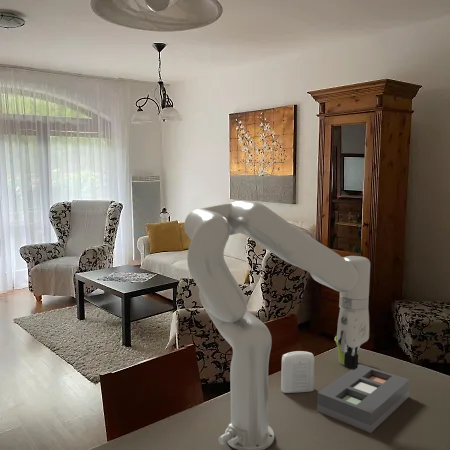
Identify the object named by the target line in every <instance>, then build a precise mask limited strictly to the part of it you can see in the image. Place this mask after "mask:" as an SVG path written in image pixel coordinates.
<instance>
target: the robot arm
mask: <svg viewBox="0 0 450 450" xmlns="http://www.w3.org/2000/svg"><path fill="white" fill-rule="evenodd" d="M183 227H184V232H185V234H186V236H187V237H188V238H189V239H190V243H189V245H188V250H187V268H188V271H189V273H190V275H191V278H192V279H193V281H194V283H195V284H196V285H197V289H199V291H198V298H199V301H200V304H201V305H202V307H203V309H204V310H205V312H206V314H207V315H208V317H209V318H210V320H211V321H212V323H213V324H214V326H215V328H216V329H217V331H218V332H219V334H220V335H221V336H222V338H223V339H224V340H225V341H226V342H227V343H228V344H229V345H230V347H231V348H232V357H231V361H230V366H229V367H230V369H229V370H230V372H229V380H230V423H228V426H227V428H225V432H224V433H223V434H221V435H220V436H218V438H217V441H218V443H219V444H220V445H221V446H223V445H225V444H226V443H227V444H228V446H230V447H231V448H232V449H235V450H266V449H268V448H269V447H271V445H272V444H273V443H274V440H275V431H274V429H272V427H271V426H270V425H269V361H270V354H271V349H272V341H273V340H272V334H271V332H270V329H269V328H268V327H267V325H266V324H265V323H264V321H263V322H262V320H260V319H259V318H258V317H257V316H255V315H254V314H252V313H251V312H250V311H249V310H248V301H247V297H246V294H245V293H244V290H242V288H241V286H240V285H239V283H238V282H237V279H236V278H235V277H234V275H233V273H232V272H231V271H230V269H229V266H228V265H227V262H226V261H225V257H224V255H225V254H224V252H225V248H226V246H227V243H228V241H229V237H230V236H232V235H236V234H242V235H244V236H246V237H248V238H249V239H251V240H253V241H254V242H255V243H257V244H259V245H260V246H261V247H263V248H265V249H266V250H268V251H269V252H270V253H272V254H273V255H275V256H276V257H277V258H279V259H280V260H283V261H285V262H286V263H288V264H289V265H292V266H295V267H297V268H300V269H301V270H304V271H306V272H307V273H309V275H310V276H311V278H312V279H313V280H314V281H316V282H318V283H319V284H321V285H323V286H325V287H328V288H330V289H332V290H334V291H336V292H339V301H338V302H339V303H338V307H339V313H338V318H337V319H338V320H337V331H336V336H337V342H338V344H339V345H341V346H340V351H342V352H344V354H345V356H344V365H343V367H344V368H346V369H349V370H351V369H352V370H355V369H356V368H358V365H359V355H358V353H360V348H361V346H362V345H363V344H365V343H366V342H368V340H369V339H370V313H369V299H370V298H369V296H370V281H371V280H370V277H371V276H370V275H371V261H370V259H369V258H367V257H364V256H361V255H360V256H359V255H349V256H341V255H340V254H339V253H337V252H335V251H334V250H333V249H331V248H329V247H327V246H326V245H324V244H322V243H321V242H319V241H318V240H316V239H315V238H314V237H312V236H310V235H309V234H307V233H305V232H303V231H302V230H300V229H299V228H297V227H296V226H294V225H293V224H292V223H290V222H289V221H287V220H286V219H285V218H283V217H282V216H281V215H279V214H277V213H276V212H274V211H273V210H272V209H270V208H269V207H267V206H266V205H264V204H263V203H260V202H256V201H251V200H237V201H234V202H233V201H232V202H227V203H221V204H215V205H211V206H209V205H208V206H205V207H200V208H196V209H194V210H192V211H190V212H189V214H188V215H187V216H186V218H185V219H184V225H183ZM360 345H361V346H360Z"/></svg>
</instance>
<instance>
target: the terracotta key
mask: <svg viewBox="0 0 450 450" xmlns="http://www.w3.org/2000/svg"><path fill="white" fill-rule="evenodd" d="M369 379H370V380H373V381H376V382H379V383H382V384H383V383H384V382H385V381H386V380H383V379H380V378H377V377H373V376H372V377H371V378H369Z"/></svg>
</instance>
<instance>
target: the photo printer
mask: <svg viewBox="0 0 450 450" xmlns="http://www.w3.org/2000/svg"><path fill="white" fill-rule="evenodd" d="M280 371H281V379H280V381H281V382H280V390H281V392H282V393H285V394H291V393H292V394H293V393H306V392H308V393H309V392H314V389H315V387H314V385H315V356H314V354H313V353H312V352H309V351H306V350H305V351H303V350H302V351H301V350H296V351H290V352H287V353H284V354H282V355H281V370H280Z"/></svg>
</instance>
